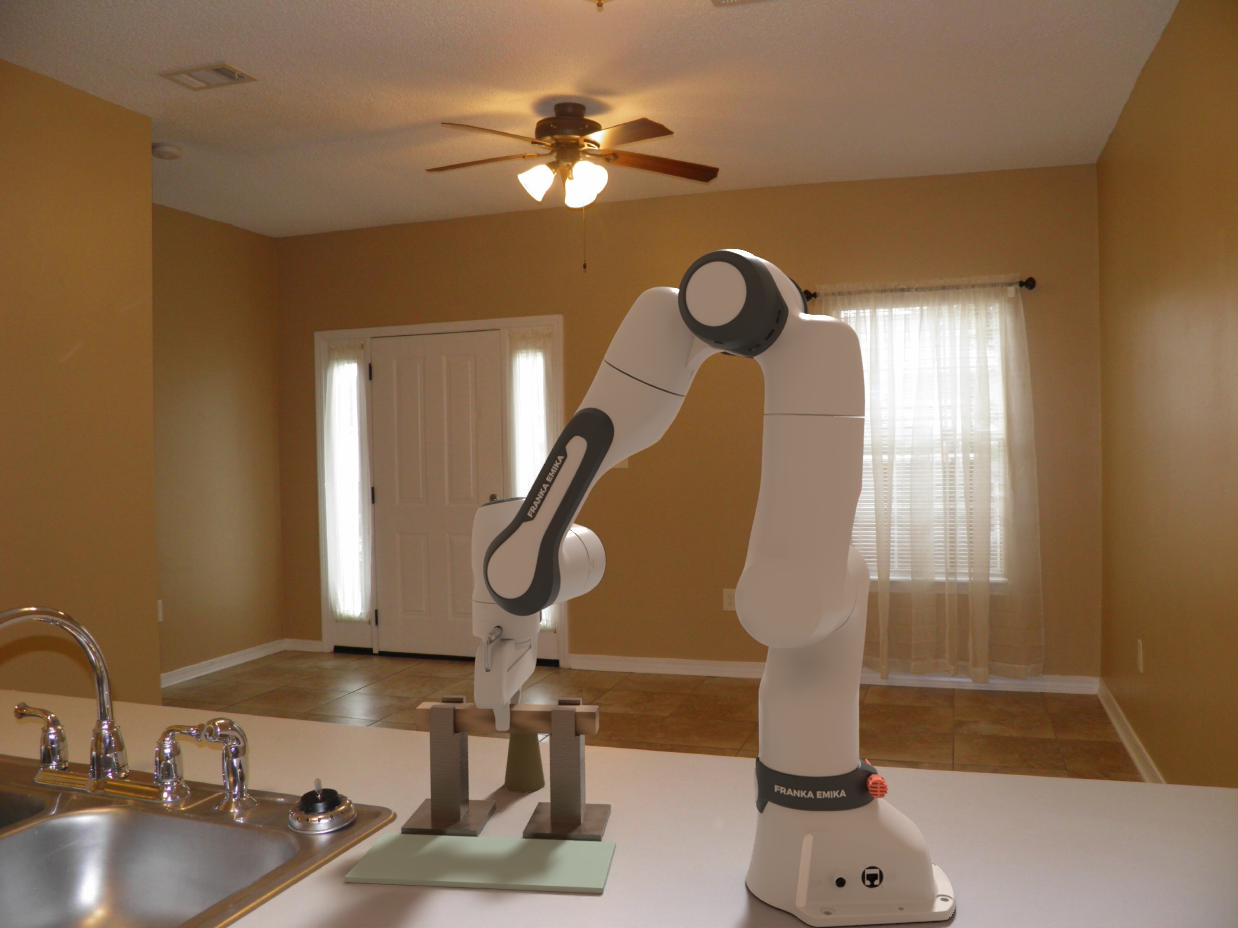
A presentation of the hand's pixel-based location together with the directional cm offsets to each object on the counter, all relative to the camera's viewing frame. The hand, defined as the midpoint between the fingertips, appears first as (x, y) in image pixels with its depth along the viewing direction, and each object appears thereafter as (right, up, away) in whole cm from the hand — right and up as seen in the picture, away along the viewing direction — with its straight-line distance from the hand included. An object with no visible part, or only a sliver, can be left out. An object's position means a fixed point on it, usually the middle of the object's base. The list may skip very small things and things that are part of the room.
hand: (507, 724), depth 122 cm
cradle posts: (0, -13, 0) cm, 13 cm away
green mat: (-1, -13, -12) cm, 18 cm away
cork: (+1, -13, +14) cm, 19 cm away
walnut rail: (0, -1, 0) cm, 1 cm away
